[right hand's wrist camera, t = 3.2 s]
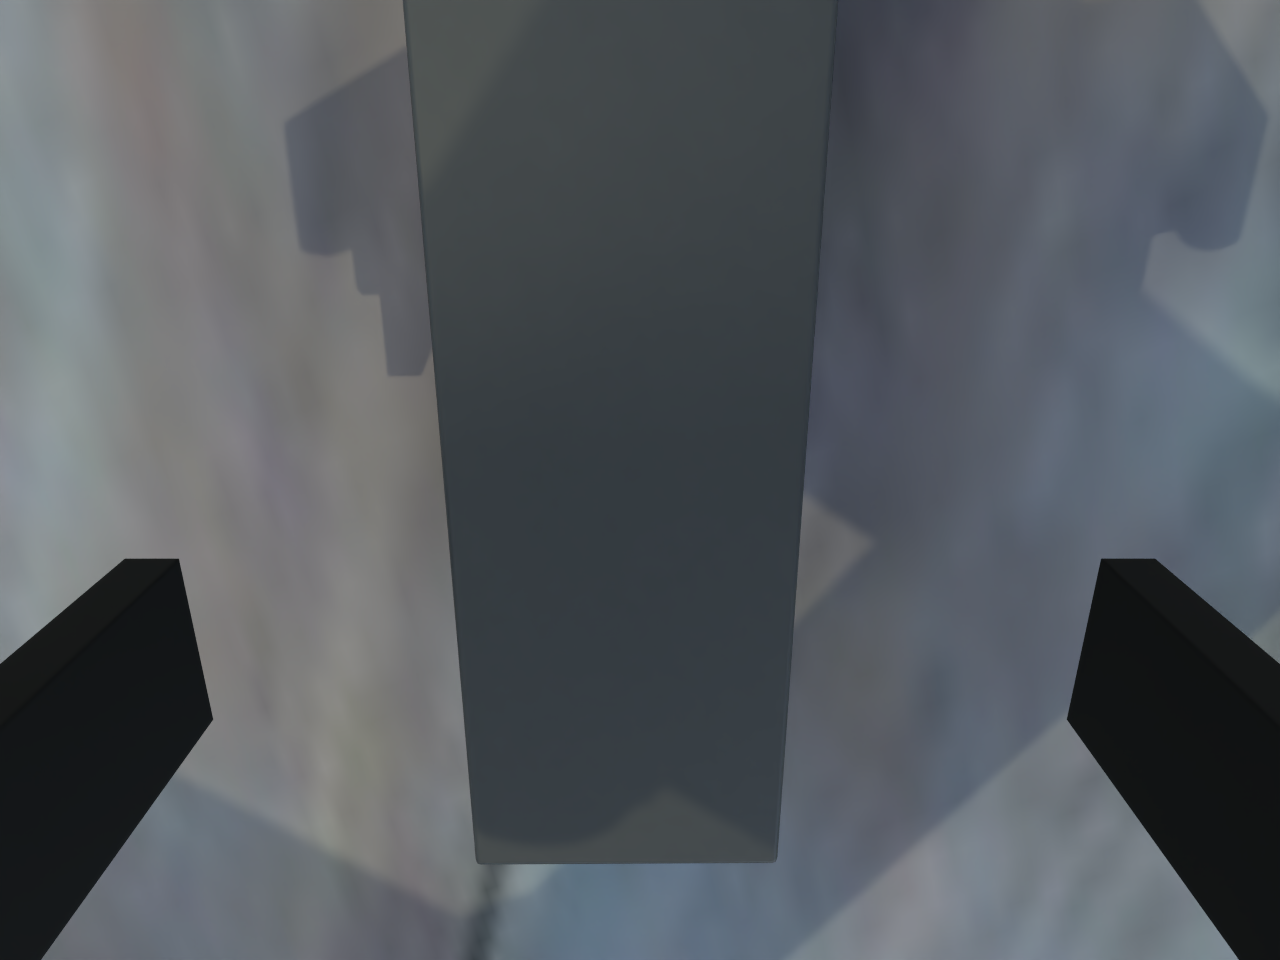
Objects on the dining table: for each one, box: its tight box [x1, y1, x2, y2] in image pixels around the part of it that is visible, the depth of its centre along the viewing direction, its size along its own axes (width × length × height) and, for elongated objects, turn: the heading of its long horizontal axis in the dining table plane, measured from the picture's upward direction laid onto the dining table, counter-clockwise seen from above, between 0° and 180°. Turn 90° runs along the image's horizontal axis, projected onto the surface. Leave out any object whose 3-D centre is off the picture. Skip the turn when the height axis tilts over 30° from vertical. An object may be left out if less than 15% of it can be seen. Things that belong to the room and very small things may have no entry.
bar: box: [403, 0, 838, 864], centre depth 14 cm, size 22×5×8 cm, turn 0°
